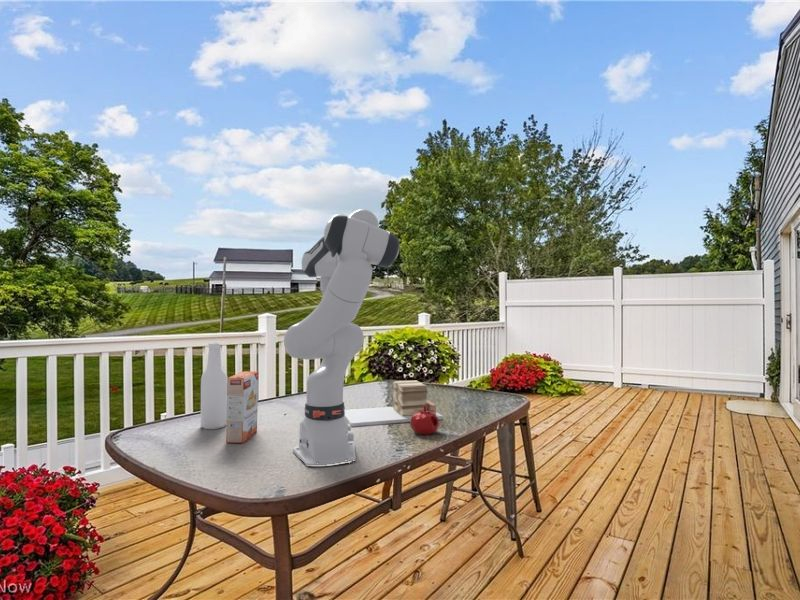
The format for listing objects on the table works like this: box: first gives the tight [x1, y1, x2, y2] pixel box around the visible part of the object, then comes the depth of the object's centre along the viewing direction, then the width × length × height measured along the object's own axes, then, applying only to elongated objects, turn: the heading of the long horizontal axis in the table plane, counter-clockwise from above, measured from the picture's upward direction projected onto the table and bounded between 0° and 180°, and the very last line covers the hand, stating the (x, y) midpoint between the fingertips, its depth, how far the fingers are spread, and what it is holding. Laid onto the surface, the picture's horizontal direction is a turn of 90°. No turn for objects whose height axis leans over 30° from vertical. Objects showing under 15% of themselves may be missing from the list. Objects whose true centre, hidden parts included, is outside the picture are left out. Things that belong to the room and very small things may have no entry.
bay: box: [344, 399, 444, 427], centre depth 180 cm, size 20×36×5 cm, turn 108°
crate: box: [392, 380, 428, 416], centre depth 183 cm, size 12×10×11 cm
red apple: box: [409, 405, 440, 435], centre depth 159 cm, size 10×10×9 cm
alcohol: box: [200, 341, 228, 430], centre depth 164 cm, size 9×9×30 cm
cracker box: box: [225, 370, 259, 444], centre depth 152 cm, size 14×6×21 cm, turn 179°
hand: (331, 322), depth 177 cm, fingers closed
